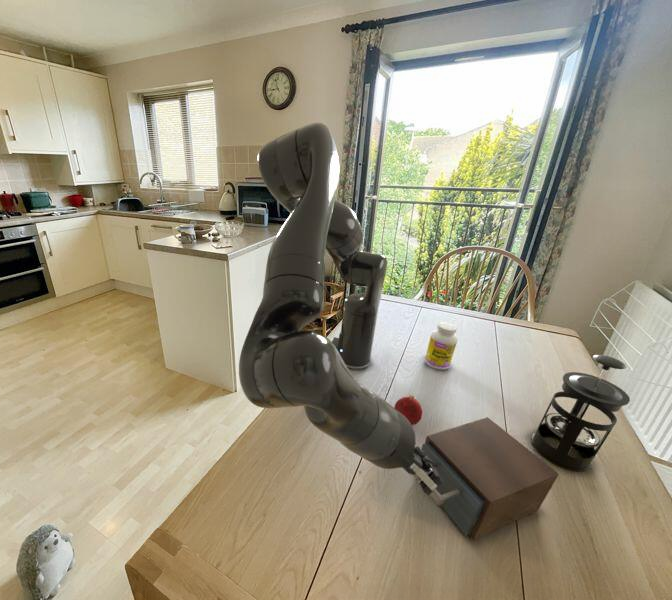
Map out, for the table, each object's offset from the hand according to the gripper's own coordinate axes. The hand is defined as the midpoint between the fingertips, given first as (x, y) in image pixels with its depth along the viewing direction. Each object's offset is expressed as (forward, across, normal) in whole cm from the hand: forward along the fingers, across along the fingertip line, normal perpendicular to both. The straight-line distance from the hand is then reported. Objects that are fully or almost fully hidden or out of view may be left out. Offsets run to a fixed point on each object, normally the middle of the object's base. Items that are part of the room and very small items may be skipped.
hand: (428, 466), depth 48 cm
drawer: (+14, 0, -1) cm, 14 cm away
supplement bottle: (+34, -33, +17) cm, 51 cm away
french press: (+36, -1, +18) cm, 40 cm away
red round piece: (+17, -17, 0) cm, 24 cm away
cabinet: (+18, 0, +1) cm, 18 cm away
